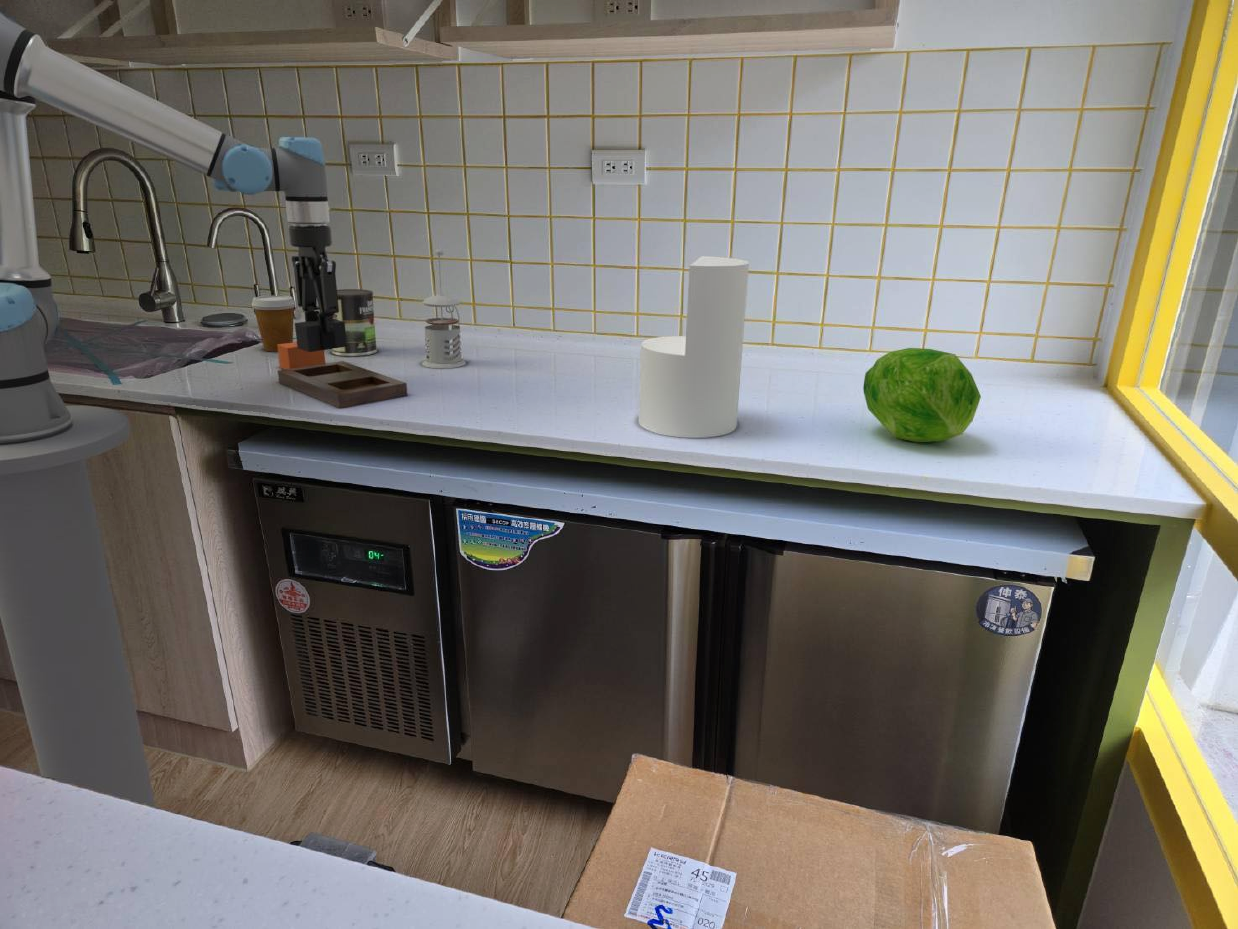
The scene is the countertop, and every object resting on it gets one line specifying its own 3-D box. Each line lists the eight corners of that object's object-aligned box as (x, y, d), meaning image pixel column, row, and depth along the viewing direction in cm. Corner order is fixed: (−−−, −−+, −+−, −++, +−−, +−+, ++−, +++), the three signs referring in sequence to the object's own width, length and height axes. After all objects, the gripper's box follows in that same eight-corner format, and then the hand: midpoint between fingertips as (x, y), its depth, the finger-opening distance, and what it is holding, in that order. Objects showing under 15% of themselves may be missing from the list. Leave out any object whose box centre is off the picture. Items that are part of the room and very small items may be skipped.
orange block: (290, 371, 174) (287, 348, 172) (279, 367, 177) (277, 344, 175) (325, 366, 179) (323, 343, 177) (315, 362, 182) (312, 339, 181)
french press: (413, 366, 181) (406, 249, 173) (438, 356, 192) (432, 245, 183) (454, 369, 179) (449, 252, 170) (476, 359, 189) (473, 247, 181)
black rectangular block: (309, 352, 159) (306, 326, 157) (297, 348, 162) (294, 322, 160) (347, 346, 164) (344, 321, 163) (335, 342, 168) (332, 318, 166)
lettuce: (1000, 439, 139) (968, 354, 145) (981, 405, 122) (944, 311, 128) (902, 473, 146) (874, 391, 152) (870, 445, 130) (841, 354, 136)
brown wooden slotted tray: (339, 408, 148) (338, 394, 147) (278, 382, 164) (277, 370, 164) (407, 395, 157) (406, 382, 157) (343, 372, 174) (342, 361, 173)
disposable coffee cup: (300, 344, 200) (295, 294, 196) (299, 352, 192) (293, 300, 188) (258, 345, 197) (252, 295, 193) (255, 353, 189) (248, 301, 185)
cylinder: (739, 414, 151) (751, 258, 142) (732, 441, 135) (745, 268, 126) (647, 406, 154) (653, 253, 145) (629, 432, 138) (635, 263, 129)
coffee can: (384, 349, 197) (380, 289, 193) (364, 357, 188) (359, 295, 183) (344, 346, 199) (339, 287, 194) (323, 355, 189) (317, 293, 185)
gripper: (351, 226, 152) (361, 350, 160) (306, 221, 164) (318, 337, 172) (312, 228, 147) (325, 356, 155) (269, 222, 159) (283, 341, 166)
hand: (321, 345), depth 163 cm, fingers closed on black rectangular block, 5 cm apart
